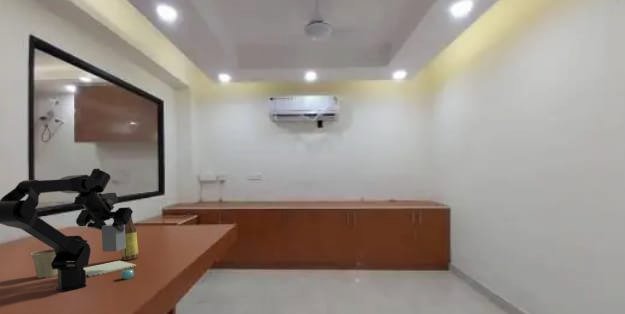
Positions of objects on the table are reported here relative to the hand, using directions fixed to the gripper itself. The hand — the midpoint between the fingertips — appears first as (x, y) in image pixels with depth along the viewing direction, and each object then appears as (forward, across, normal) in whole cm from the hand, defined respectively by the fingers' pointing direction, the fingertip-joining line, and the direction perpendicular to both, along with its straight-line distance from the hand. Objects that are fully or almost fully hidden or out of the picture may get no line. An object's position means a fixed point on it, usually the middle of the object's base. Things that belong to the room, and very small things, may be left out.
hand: (116, 230), depth 148 cm
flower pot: (+4, +21, +16) cm, 27 cm away
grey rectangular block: (+4, 0, +6) cm, 7 cm away
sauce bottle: (+22, +6, -2) cm, 23 cm away
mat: (+10, +5, +9) cm, 15 cm away
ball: (+1, -12, +19) cm, 22 cm away
